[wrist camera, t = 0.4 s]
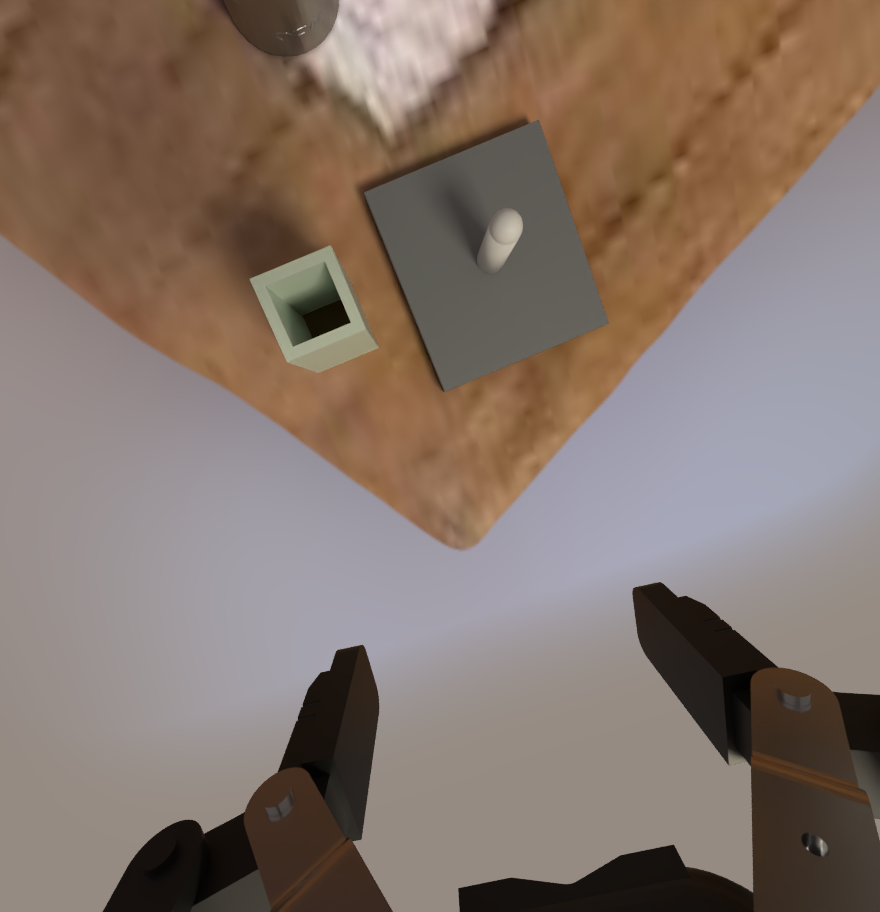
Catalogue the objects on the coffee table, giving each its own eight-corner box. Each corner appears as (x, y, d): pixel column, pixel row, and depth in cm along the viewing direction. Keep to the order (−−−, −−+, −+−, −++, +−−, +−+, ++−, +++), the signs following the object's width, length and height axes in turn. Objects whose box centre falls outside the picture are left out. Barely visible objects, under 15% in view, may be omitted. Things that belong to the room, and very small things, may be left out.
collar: (290, 310, 37) (249, 279, 28) (352, 284, 37) (330, 245, 28) (318, 373, 38) (287, 362, 29) (378, 347, 38) (366, 329, 29)
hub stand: (366, 201, 36) (348, 131, 27) (533, 131, 36) (572, 38, 27) (443, 392, 38) (451, 387, 29) (601, 326, 38) (658, 301, 29)
